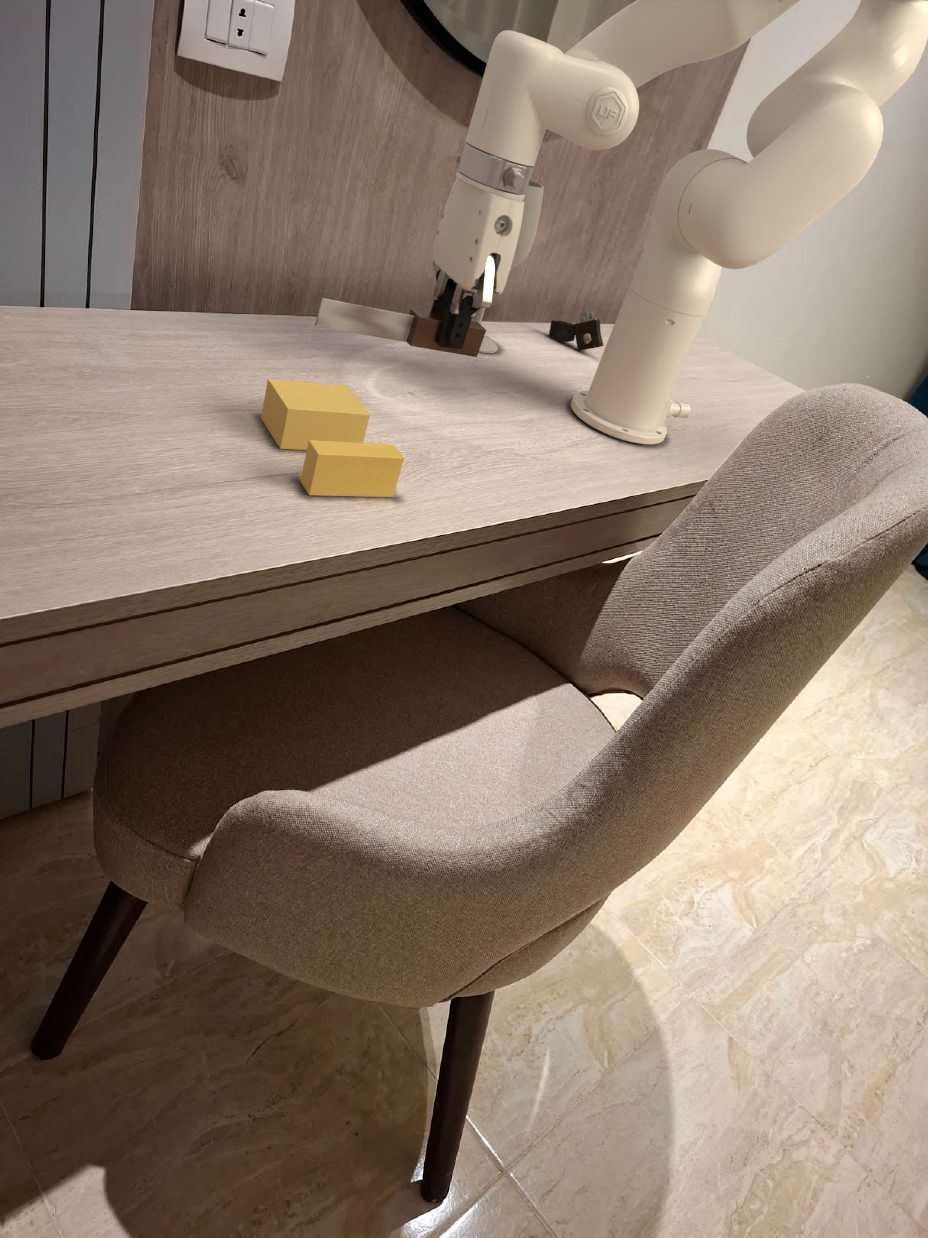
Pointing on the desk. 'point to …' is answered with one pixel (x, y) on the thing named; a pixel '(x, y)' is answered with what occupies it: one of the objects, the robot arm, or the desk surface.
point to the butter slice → (351, 469)
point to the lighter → (578, 332)
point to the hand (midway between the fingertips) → (443, 339)
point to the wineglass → (521, 242)
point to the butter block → (312, 413)
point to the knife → (395, 325)
